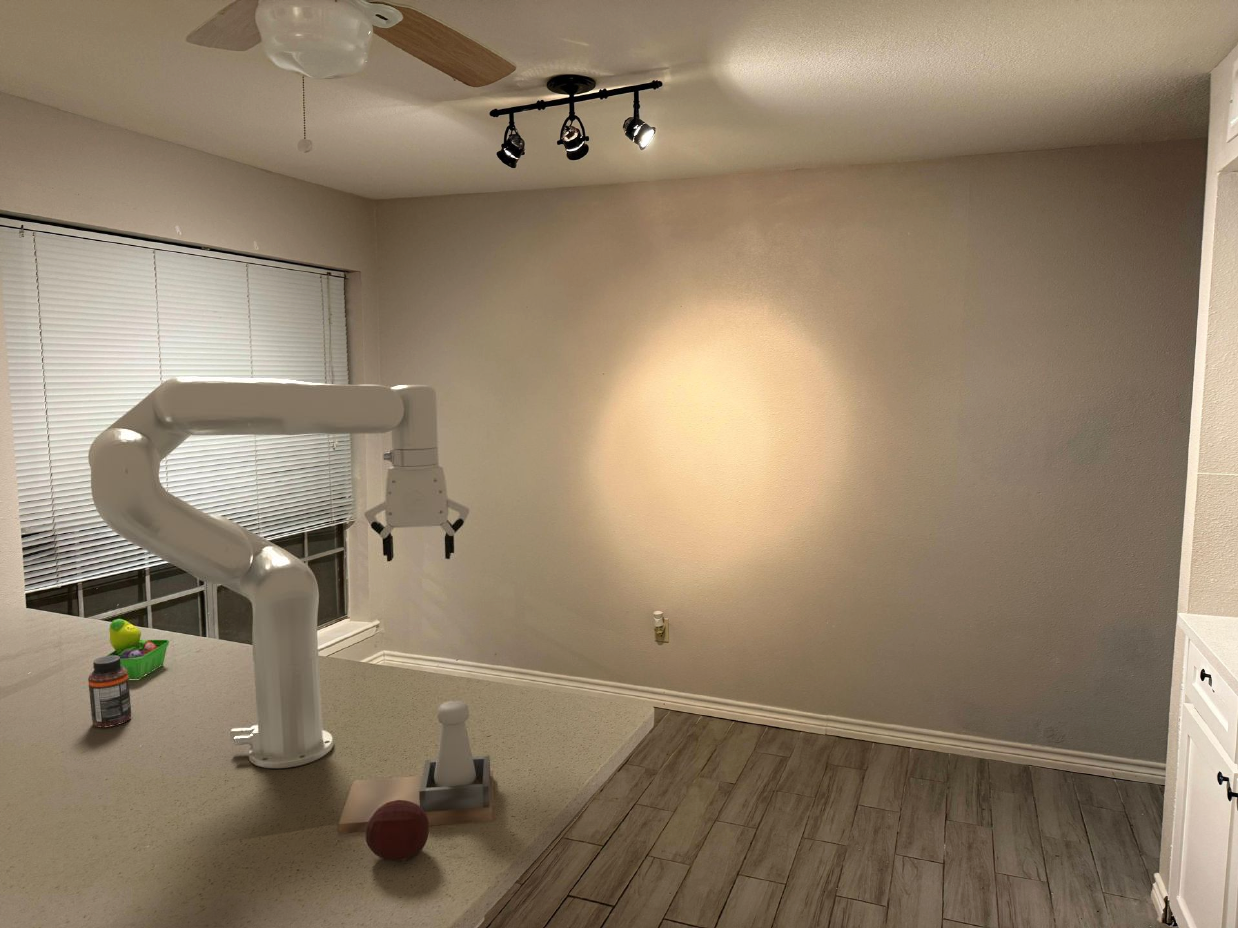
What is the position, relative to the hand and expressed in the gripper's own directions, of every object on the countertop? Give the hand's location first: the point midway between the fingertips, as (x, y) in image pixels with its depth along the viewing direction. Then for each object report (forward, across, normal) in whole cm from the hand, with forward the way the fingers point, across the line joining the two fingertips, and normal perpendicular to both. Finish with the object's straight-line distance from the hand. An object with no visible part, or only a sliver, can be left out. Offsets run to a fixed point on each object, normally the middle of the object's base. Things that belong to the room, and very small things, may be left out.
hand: (419, 558), depth 146 cm
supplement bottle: (+28, -54, +7) cm, 61 cm away
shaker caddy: (+28, +2, -30) cm, 41 cm away
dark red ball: (+29, 0, -43) cm, 51 cm away
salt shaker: (+27, +7, -30) cm, 41 cm away
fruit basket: (+29, -60, +32) cm, 74 cm away
